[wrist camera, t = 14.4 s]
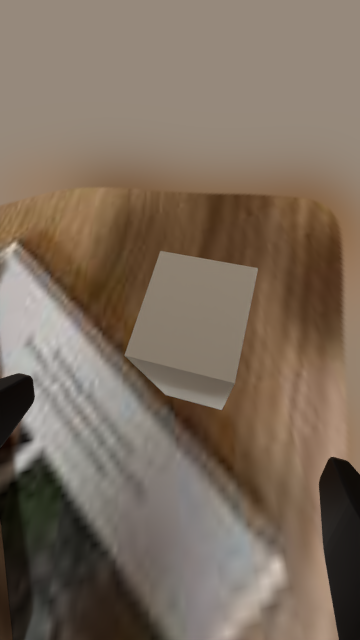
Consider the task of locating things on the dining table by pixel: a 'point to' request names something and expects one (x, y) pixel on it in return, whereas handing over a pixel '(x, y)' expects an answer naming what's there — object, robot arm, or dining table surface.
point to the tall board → (193, 327)
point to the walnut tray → (4, 598)
